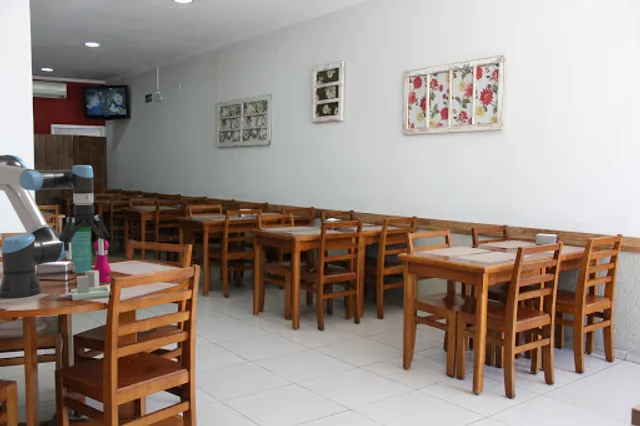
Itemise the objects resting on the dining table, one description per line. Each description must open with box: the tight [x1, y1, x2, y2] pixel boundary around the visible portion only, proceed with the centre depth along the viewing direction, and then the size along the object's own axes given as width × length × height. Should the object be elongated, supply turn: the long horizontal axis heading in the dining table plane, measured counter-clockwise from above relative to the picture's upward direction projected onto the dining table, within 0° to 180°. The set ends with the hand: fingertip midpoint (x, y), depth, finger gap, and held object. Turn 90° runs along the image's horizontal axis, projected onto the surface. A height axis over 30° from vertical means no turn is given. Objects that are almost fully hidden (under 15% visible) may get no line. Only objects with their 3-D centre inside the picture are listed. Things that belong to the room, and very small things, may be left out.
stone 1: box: [76, 275, 89, 294], centre depth 232 cm, size 4×4×7 cm
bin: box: [70, 285, 111, 301], centre depth 234 cm, size 14×11×2 cm
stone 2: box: [84, 269, 100, 288], centre depth 249 cm, size 4×4×7 cm
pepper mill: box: [93, 236, 112, 283], centre depth 262 cm, size 7×7×20 cm
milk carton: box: [69, 221, 93, 274], centre depth 285 cm, size 9×9×25 cm
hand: (85, 257), depth 238 cm, fingers open, 13 cm apart
